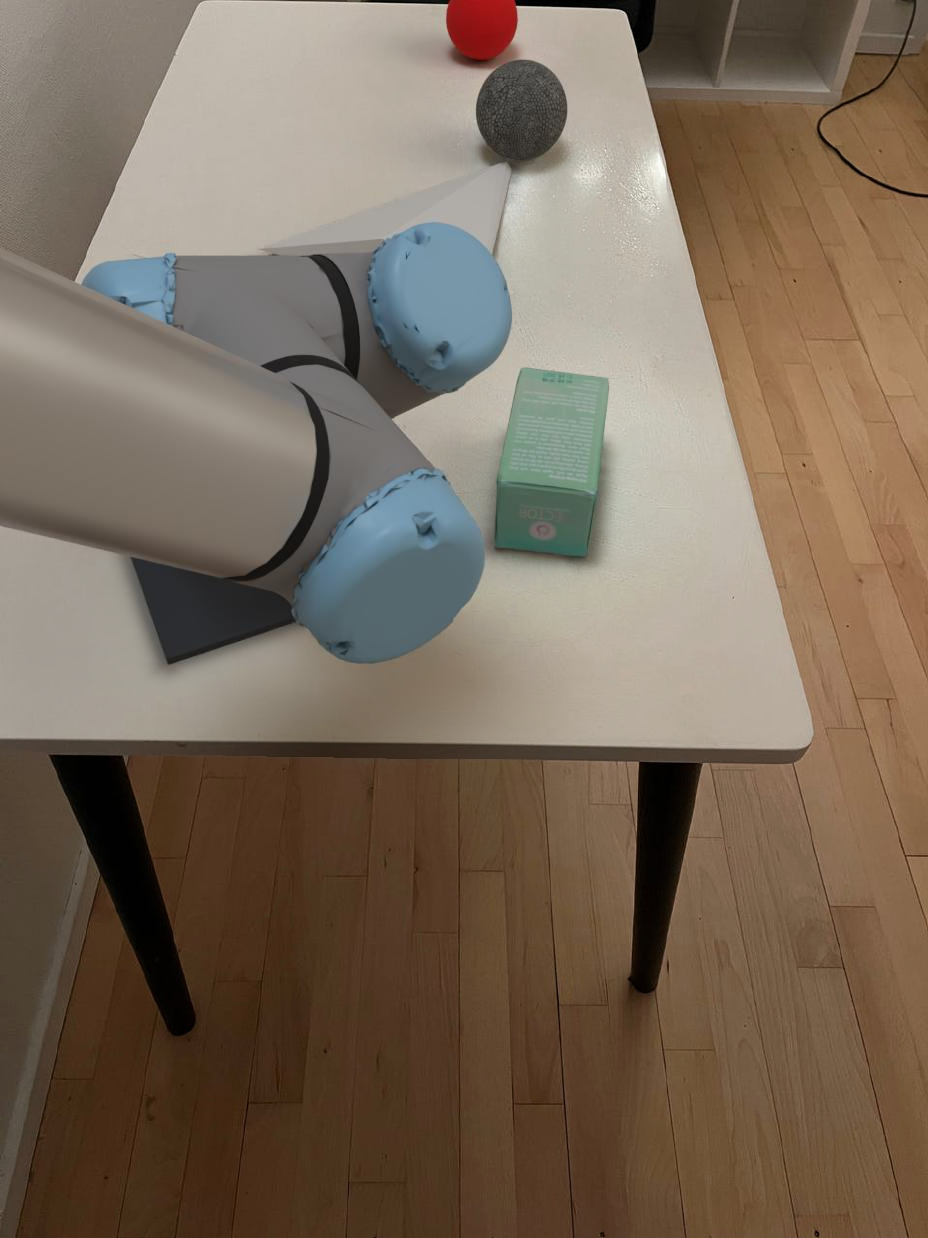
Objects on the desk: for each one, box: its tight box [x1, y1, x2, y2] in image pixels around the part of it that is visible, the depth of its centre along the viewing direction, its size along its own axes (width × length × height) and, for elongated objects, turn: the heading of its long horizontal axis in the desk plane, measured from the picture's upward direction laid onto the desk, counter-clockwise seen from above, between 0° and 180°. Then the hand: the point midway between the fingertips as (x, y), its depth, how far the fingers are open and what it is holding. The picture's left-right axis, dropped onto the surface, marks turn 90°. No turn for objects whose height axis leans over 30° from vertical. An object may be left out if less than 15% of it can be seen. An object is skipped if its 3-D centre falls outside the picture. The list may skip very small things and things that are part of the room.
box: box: [494, 366, 610, 558], centre depth 82 cm, size 7×14×8 cm, turn 171°
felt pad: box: [130, 557, 296, 664], centre depth 82 cm, size 20×20×1 cm
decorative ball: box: [475, 59, 568, 162], centre depth 116 cm, size 10×10×10 cm
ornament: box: [445, 0, 519, 61], centre depth 132 cm, size 9×9×10 cm
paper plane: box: [258, 160, 513, 256], centre depth 108 cm, size 26×28×4 cm
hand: (190, 465), depth 82 cm, fingers closed on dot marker, 4 cm apart
